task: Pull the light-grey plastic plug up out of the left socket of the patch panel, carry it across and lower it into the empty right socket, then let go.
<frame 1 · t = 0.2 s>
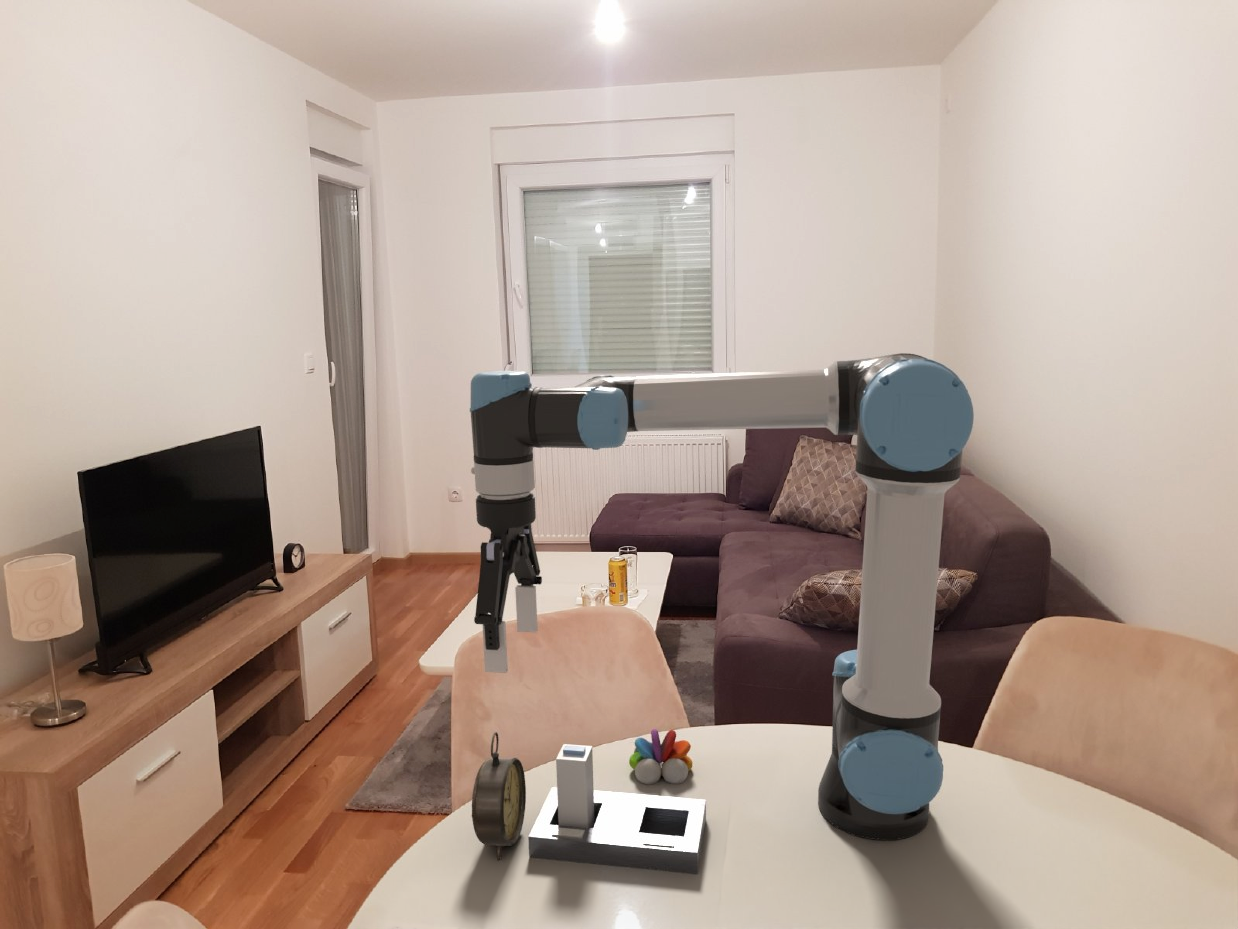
hand: (512, 650, 117), 27 cm above the table, fingers open, 13 cm apart
panel: (620, 841, 119), on the table
plug: (577, 833, 120), point 1 cm above the table, touching panel
rainbow petal toy: (660, 775, 136), on the table
alarm clock: (500, 845, 120), on the table
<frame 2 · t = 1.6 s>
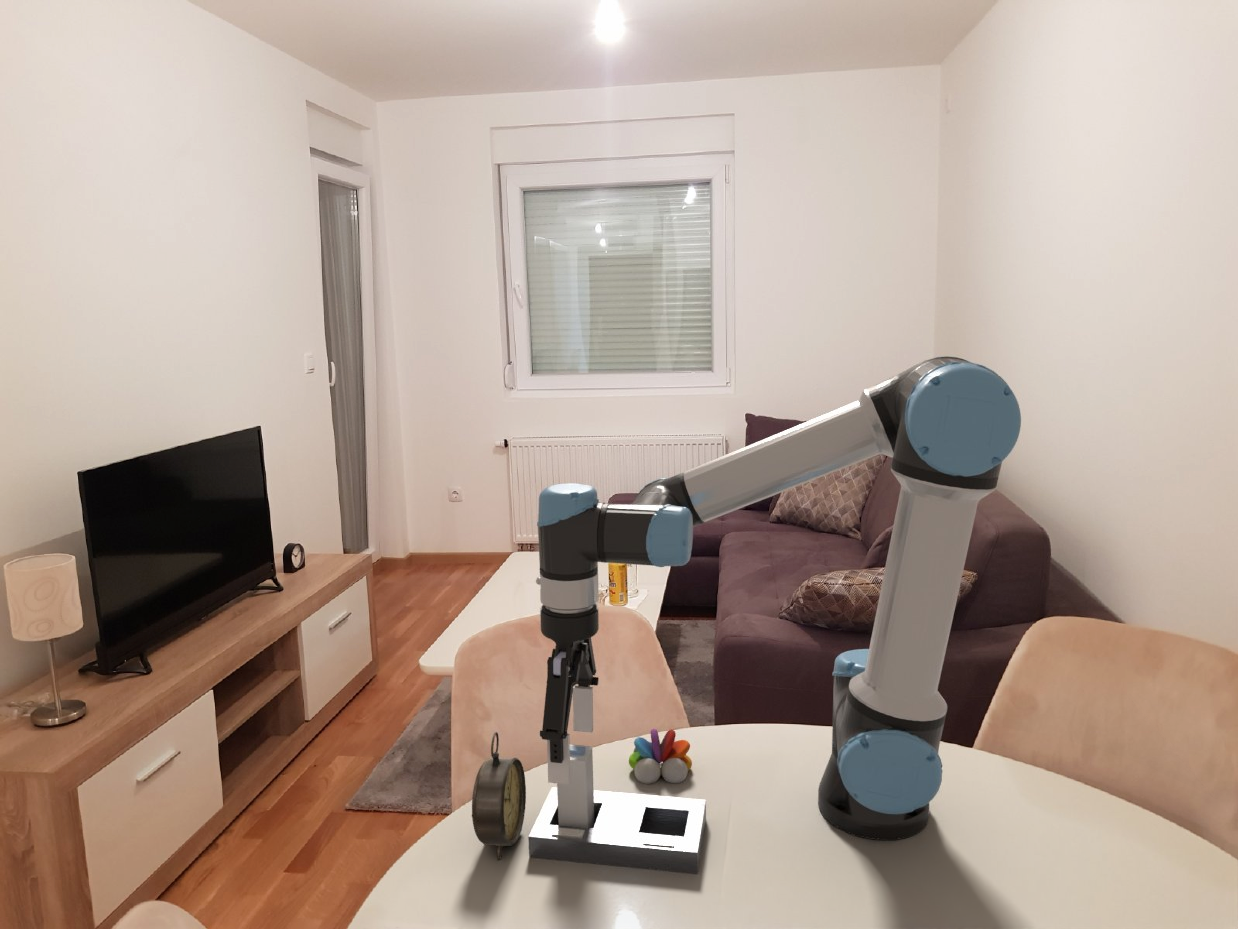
hand: (572, 755, 118), 12 cm above the table, fingers open, 13 cm apart
nothing on the table moved.
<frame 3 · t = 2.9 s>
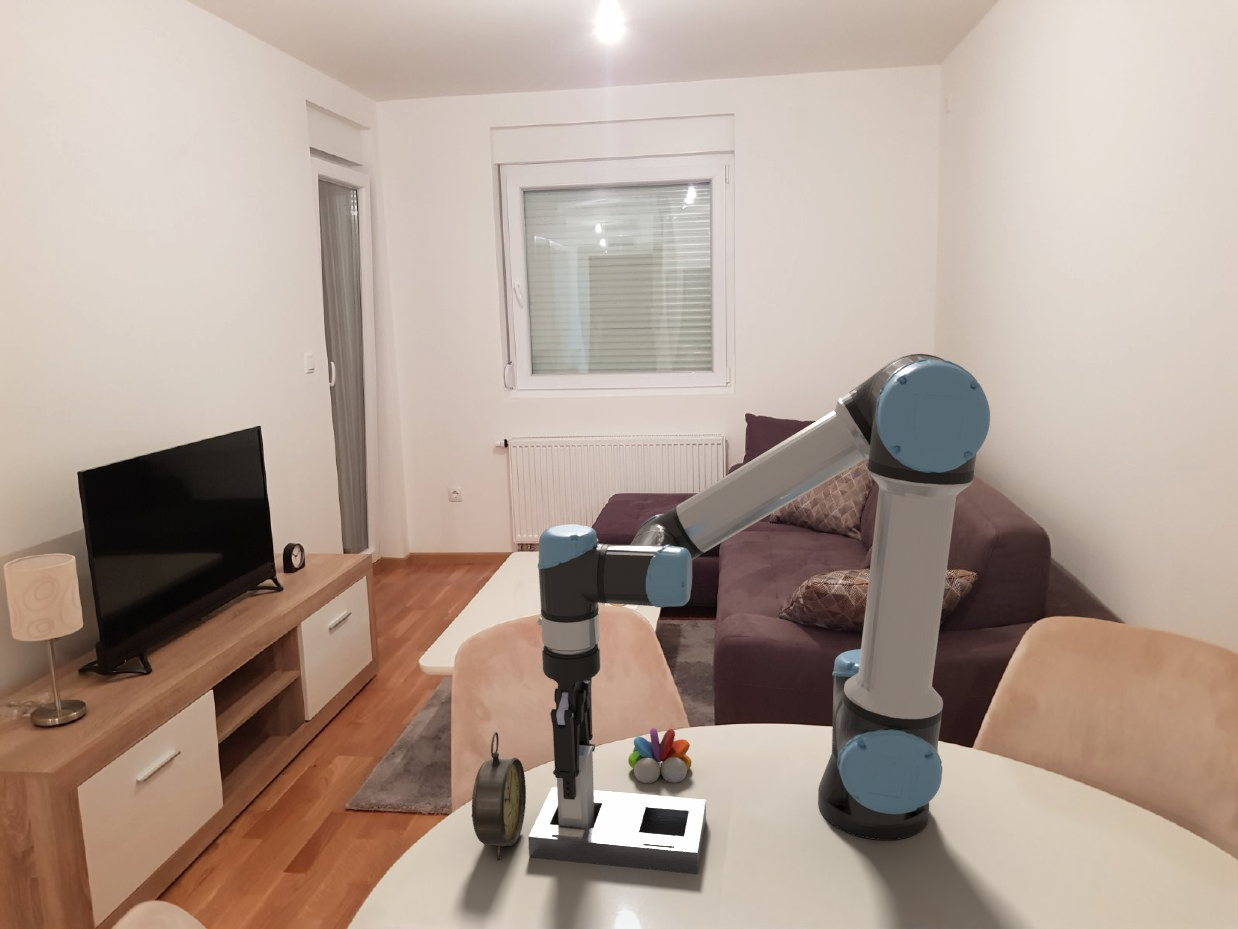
hand: (576, 806, 120), 5 cm above the table, fingers closed on plug, 4 cm apart
plug: (577, 833, 120), point 1 cm above the table, touching gripper, panel
everything else where it was.
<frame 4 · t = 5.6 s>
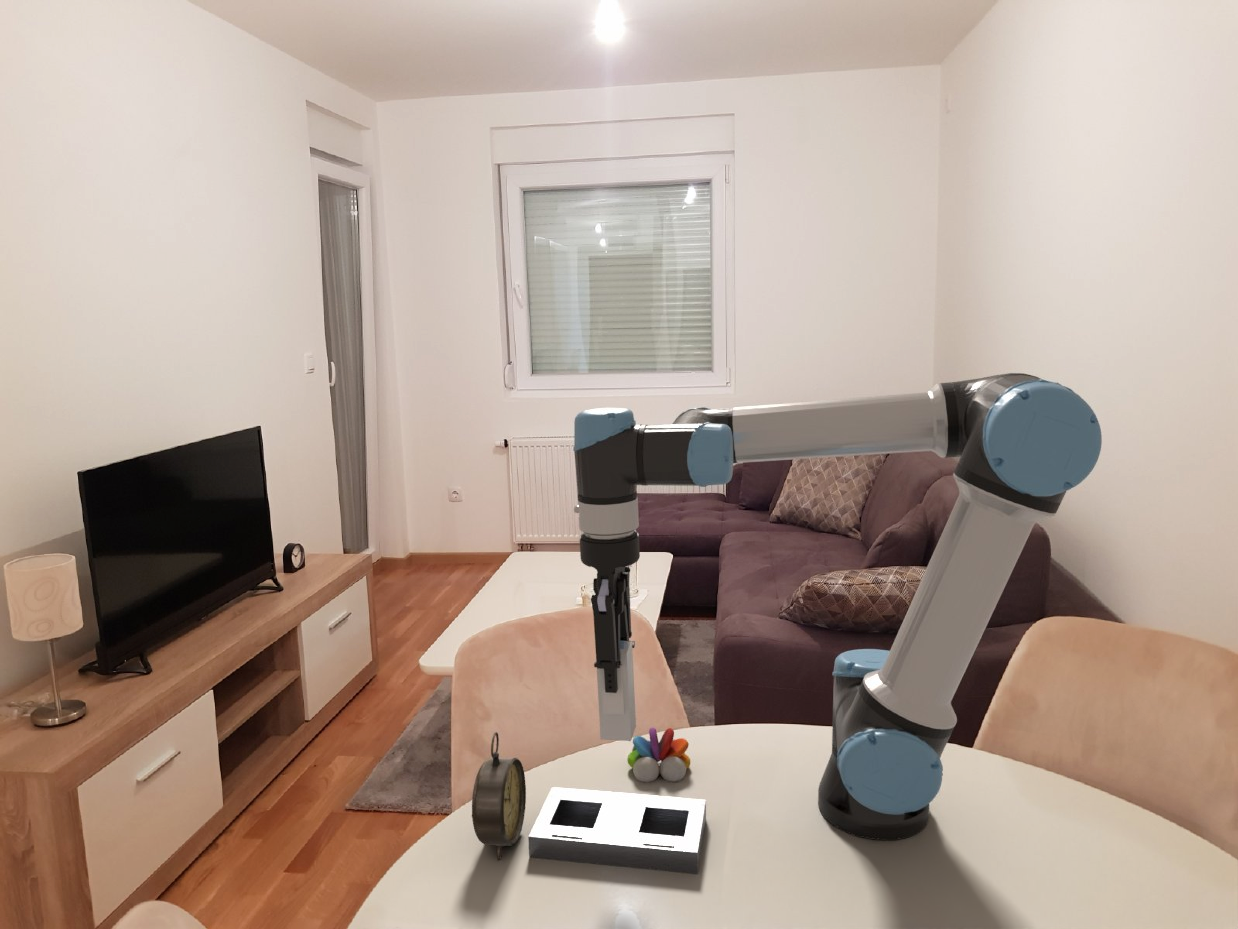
hand: (617, 704, 116), 20 cm above the table, fingers closed on plug, 4 cm apart
plug: (618, 732, 116), point 16 cm above the table, touching gripper
everything else where it was.
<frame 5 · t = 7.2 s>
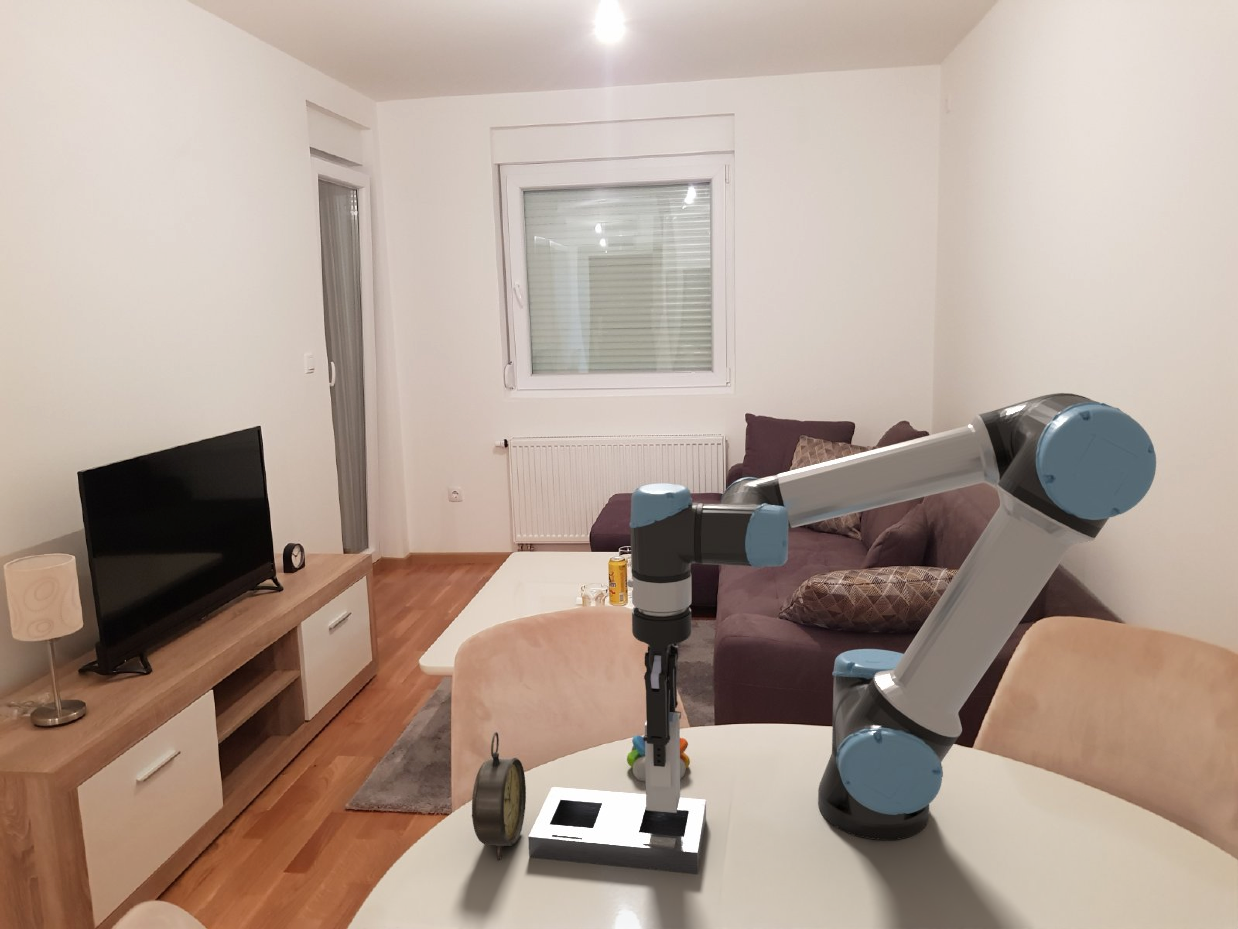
hand: (663, 775, 116), 10 cm above the table, fingers closed on plug, 4 cm apart
plug: (663, 803, 117), point 6 cm above the table, touching gripper
everything else where it was.
when the fingers open (6 cm above the table, at t = 8.3 s): plug drops 1 cm, resting on panel.
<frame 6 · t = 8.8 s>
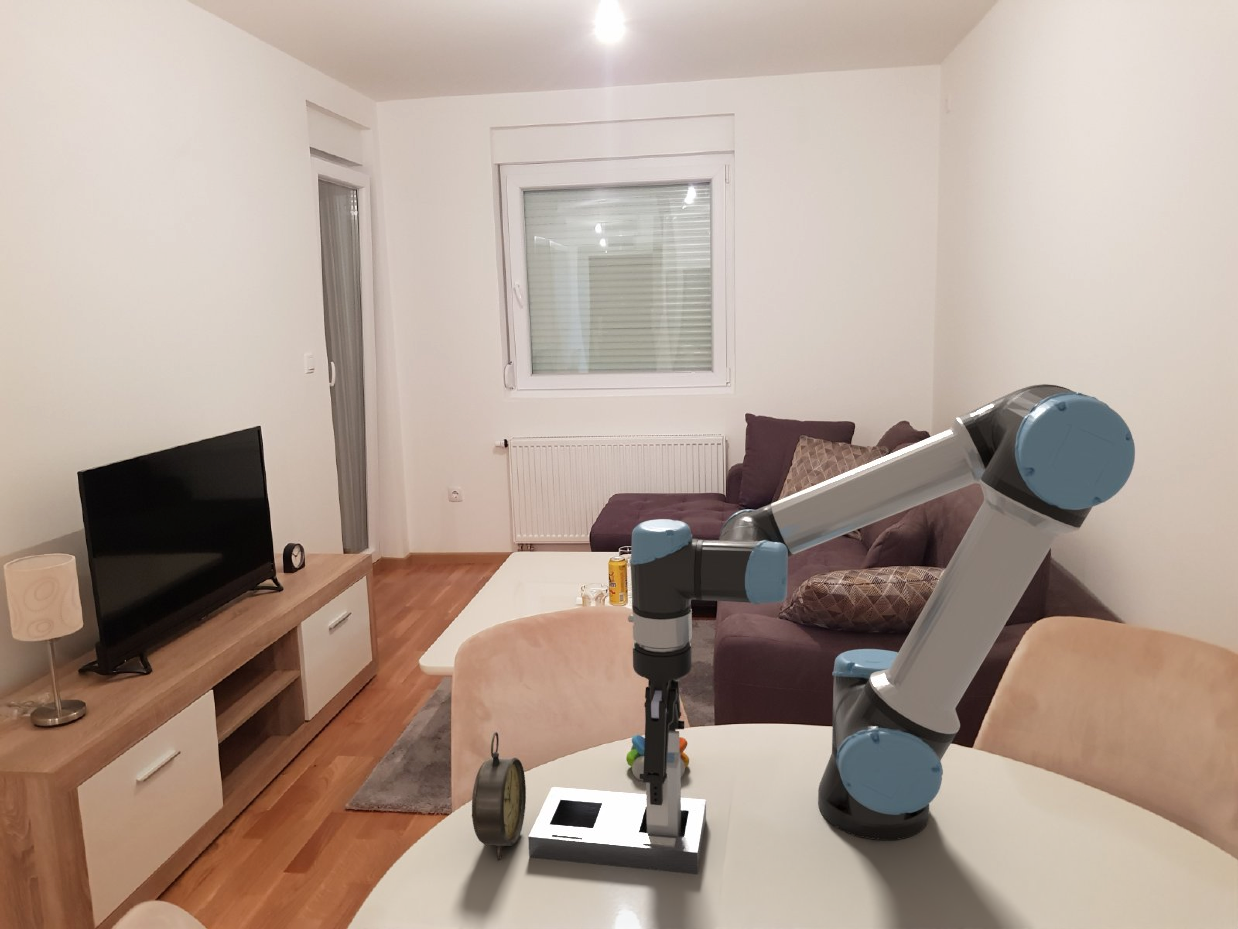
hand: (664, 798, 117), 7 cm above the table, fingers open, 11 cm apart
plug: (664, 841, 118), point 1 cm above the table, touching panel
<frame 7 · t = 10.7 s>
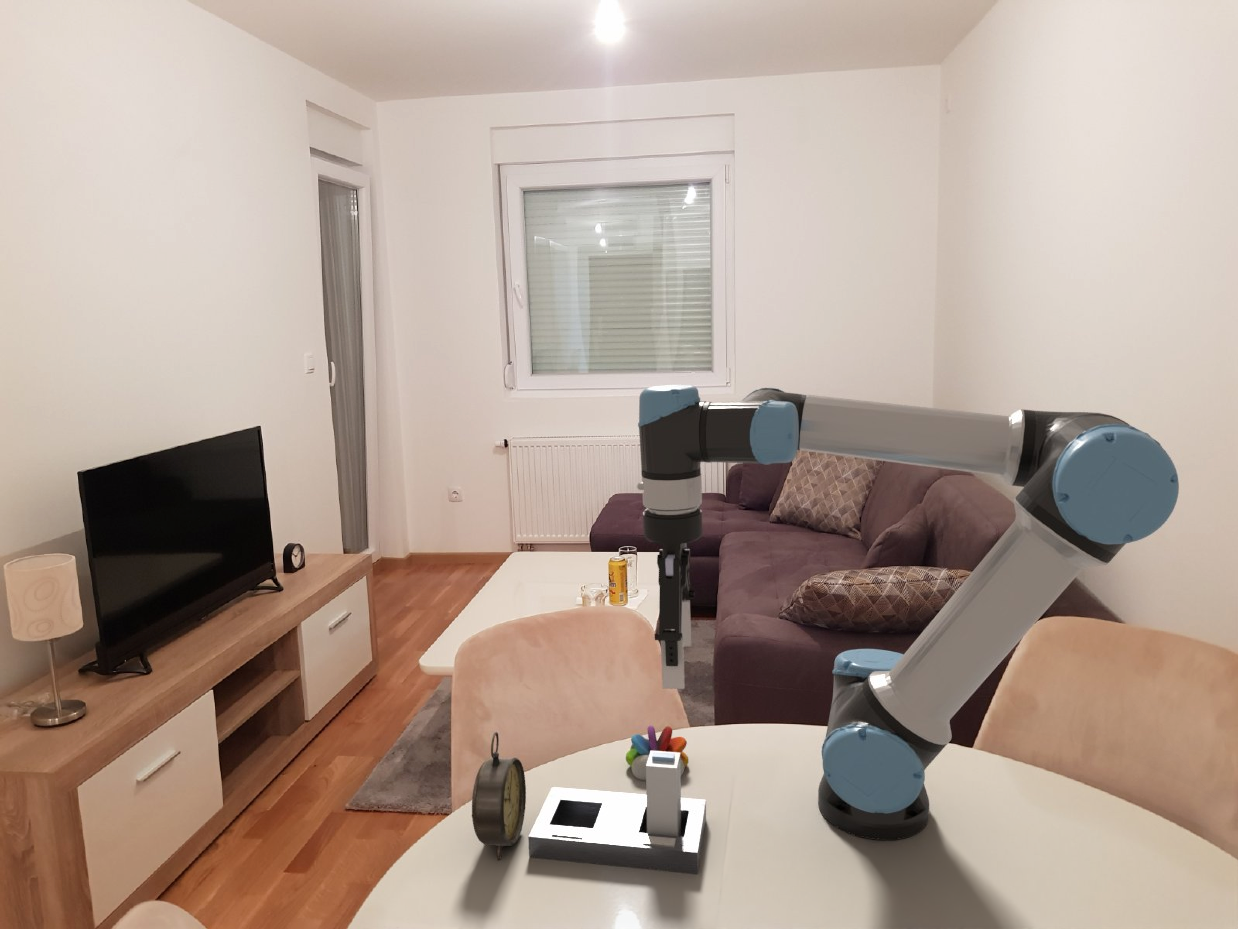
hand: (677, 665, 116), 25 cm above the table, fingers open, 13 cm apart
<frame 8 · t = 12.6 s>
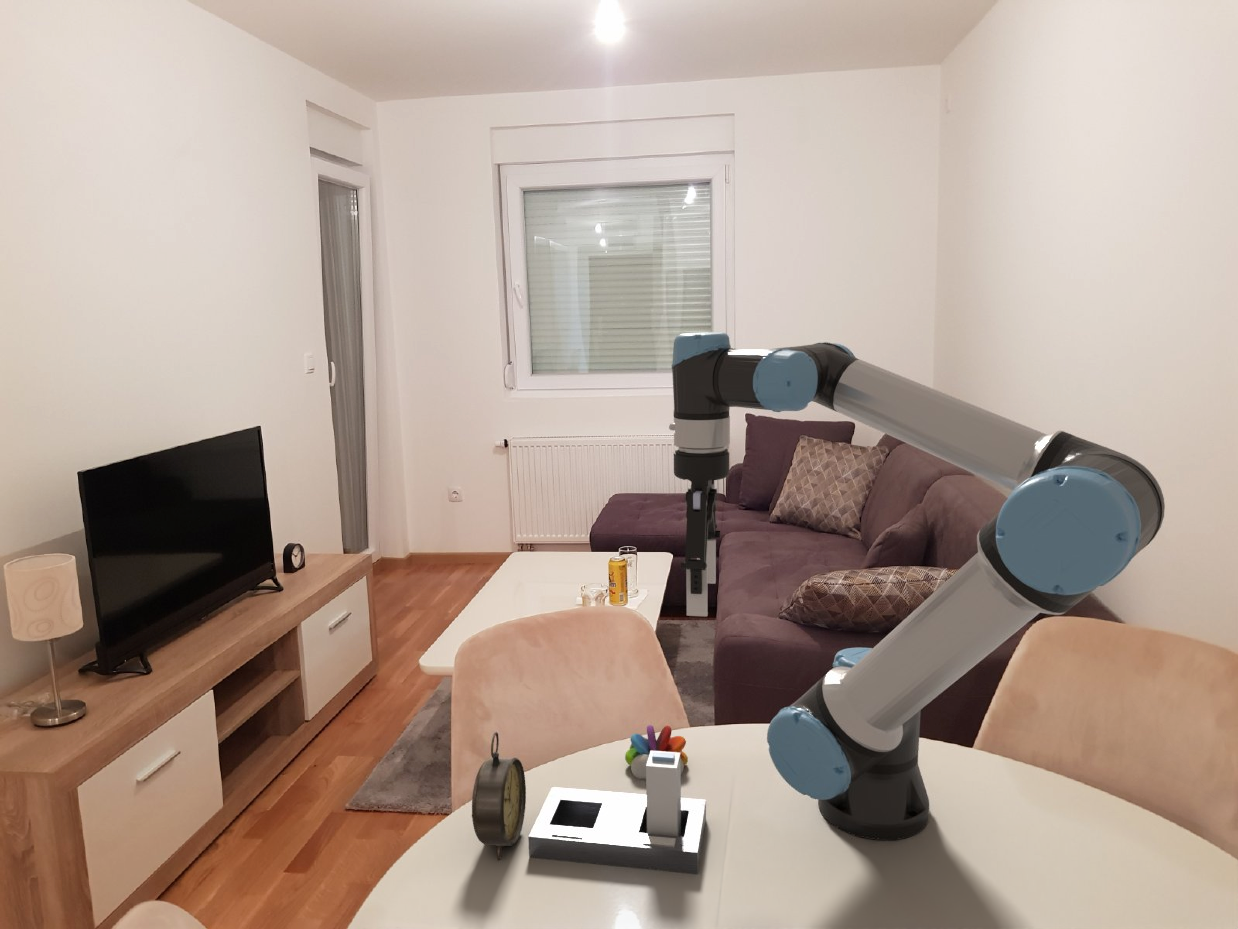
hand: (702, 598, 123), 31 cm above the table, fingers open, 13 cm apart
at the end: plug 0.0 cm from the target spot on the panel, point 0.6 cm above the panel's base; plug tilted 0°; the gripper is holding nothing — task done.
